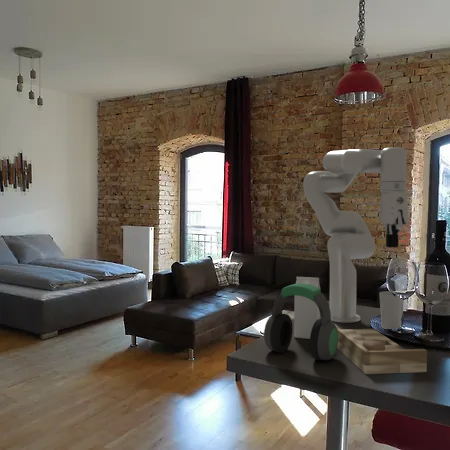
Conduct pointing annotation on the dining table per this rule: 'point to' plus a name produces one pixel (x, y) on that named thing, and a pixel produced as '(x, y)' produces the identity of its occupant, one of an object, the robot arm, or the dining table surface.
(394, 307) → the cup
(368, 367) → the wooden compartment tray
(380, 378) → the dining table surface
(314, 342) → the headphones
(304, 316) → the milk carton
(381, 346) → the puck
